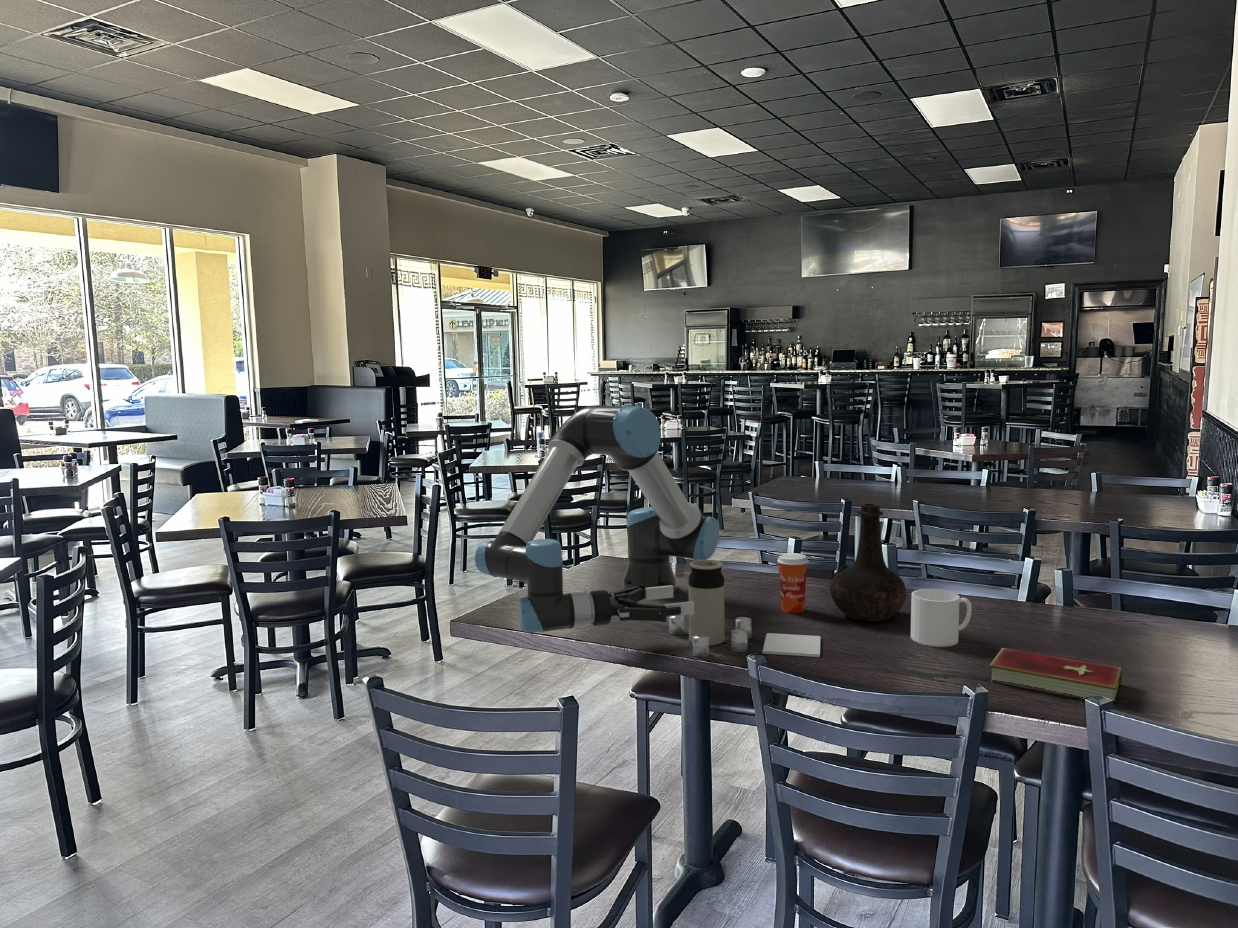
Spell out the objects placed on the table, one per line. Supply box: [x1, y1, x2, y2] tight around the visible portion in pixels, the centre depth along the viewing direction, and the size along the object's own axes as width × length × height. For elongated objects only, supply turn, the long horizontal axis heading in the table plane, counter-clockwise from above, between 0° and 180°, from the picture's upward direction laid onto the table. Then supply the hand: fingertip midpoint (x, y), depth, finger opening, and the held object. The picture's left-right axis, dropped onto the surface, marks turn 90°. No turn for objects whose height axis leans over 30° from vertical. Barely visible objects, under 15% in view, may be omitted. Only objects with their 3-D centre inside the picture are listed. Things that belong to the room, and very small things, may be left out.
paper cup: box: [777, 552, 810, 614], centre depth 207 cm, size 8×8×14 cm
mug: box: [910, 588, 973, 648], centre depth 183 cm, size 13×10×10 cm
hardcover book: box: [989, 647, 1123, 702], centre depth 158 cm, size 12×21×4 cm, turn 54°
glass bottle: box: [829, 503, 907, 623], centre depth 200 cm, size 18×18×28 cm
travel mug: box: [688, 559, 726, 647], centre depth 185 cm, size 8×8×18 cm
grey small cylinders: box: [668, 615, 752, 658], centre depth 186 cm, size 22×19×4 cm
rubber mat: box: [762, 632, 821, 658], centre depth 182 cm, size 12×12×1 cm
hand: (683, 599), depth 183 cm, fingers open, 13 cm apart
